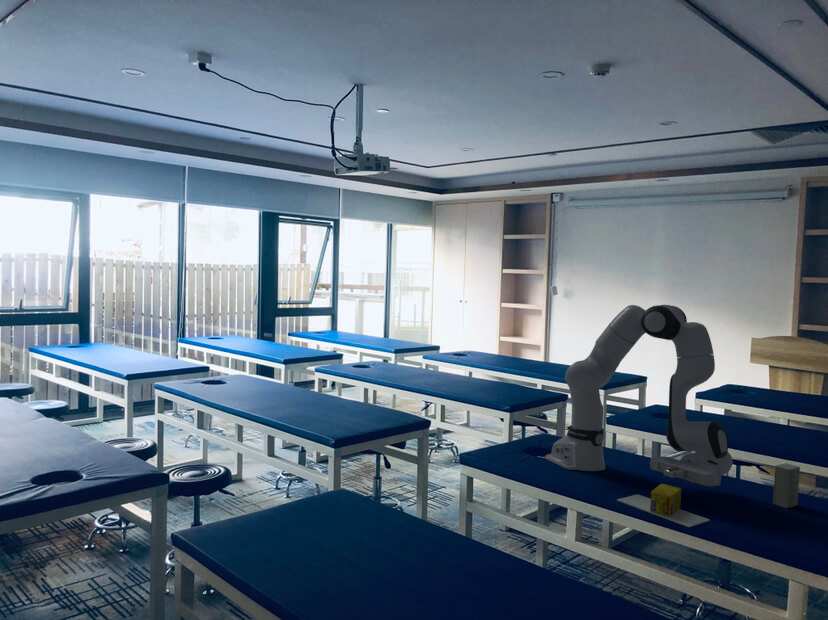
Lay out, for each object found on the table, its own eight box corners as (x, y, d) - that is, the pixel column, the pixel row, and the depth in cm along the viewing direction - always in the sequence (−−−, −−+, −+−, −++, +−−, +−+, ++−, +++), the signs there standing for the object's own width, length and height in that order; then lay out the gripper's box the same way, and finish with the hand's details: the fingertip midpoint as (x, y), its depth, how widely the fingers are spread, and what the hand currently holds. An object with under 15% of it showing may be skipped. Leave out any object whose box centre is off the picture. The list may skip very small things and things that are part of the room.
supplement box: (681, 506, 185) (671, 516, 177) (661, 501, 189) (649, 511, 180) (682, 487, 185) (671, 496, 176) (661, 482, 189) (650, 491, 180)
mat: (616, 500, 190) (616, 499, 190) (637, 495, 195) (637, 494, 195) (689, 527, 170) (689, 526, 170) (710, 520, 175) (710, 519, 175)
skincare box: (783, 501, 194) (786, 462, 194) (798, 505, 191) (800, 466, 190) (772, 504, 191) (774, 465, 191) (786, 508, 187) (789, 469, 187)
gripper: (665, 449, 203) (639, 455, 195) (726, 466, 186) (699, 472, 178) (664, 468, 203) (638, 474, 196) (725, 487, 186) (698, 494, 179)
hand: (668, 473), depth 187 cm, fingers closed
